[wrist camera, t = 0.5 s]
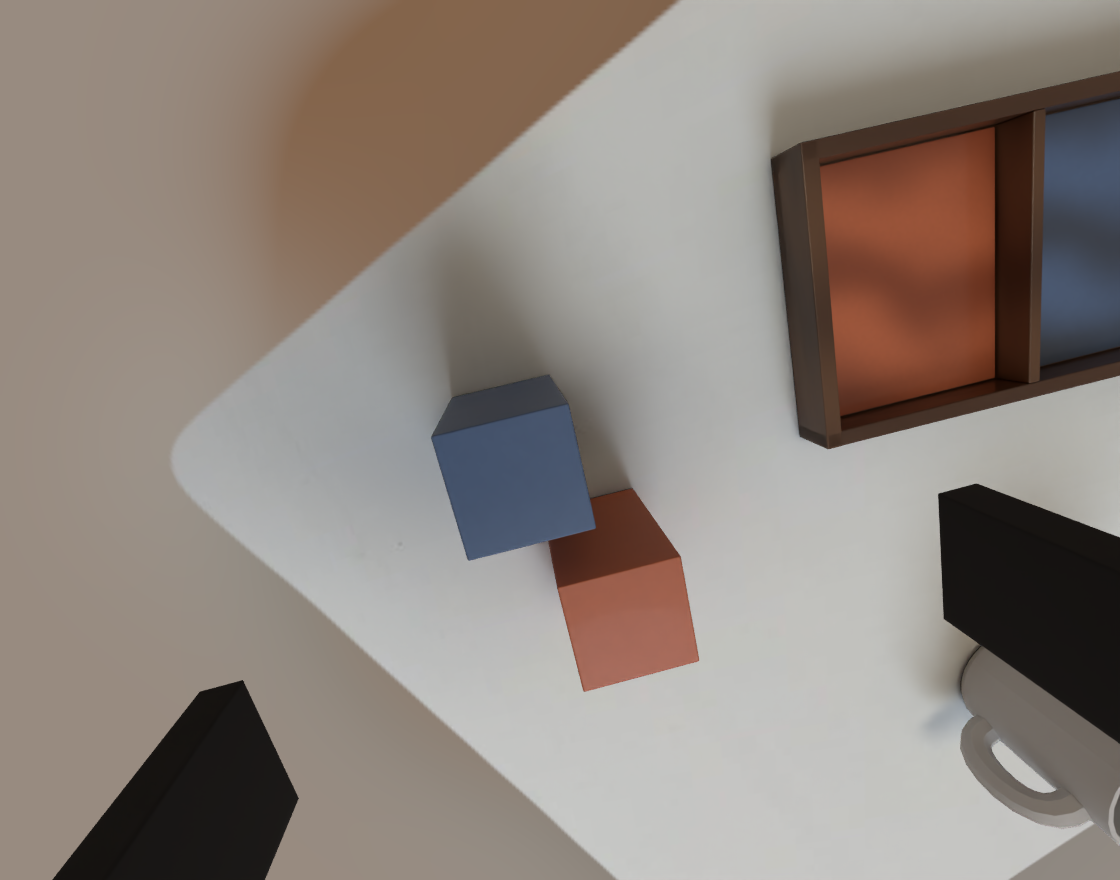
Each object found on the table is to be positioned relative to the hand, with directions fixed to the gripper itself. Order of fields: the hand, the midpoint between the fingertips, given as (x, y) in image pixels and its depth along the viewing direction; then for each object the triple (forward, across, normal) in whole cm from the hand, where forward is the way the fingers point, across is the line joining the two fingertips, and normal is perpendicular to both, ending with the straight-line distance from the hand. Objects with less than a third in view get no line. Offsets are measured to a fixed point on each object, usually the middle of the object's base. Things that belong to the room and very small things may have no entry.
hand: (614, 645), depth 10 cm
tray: (+18, +24, +3) cm, 30 cm away
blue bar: (+18, -2, 0) cm, 18 cm away
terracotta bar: (+18, +1, -7) cm, 19 cm away
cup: (+18, +24, -24) cm, 39 cm away
